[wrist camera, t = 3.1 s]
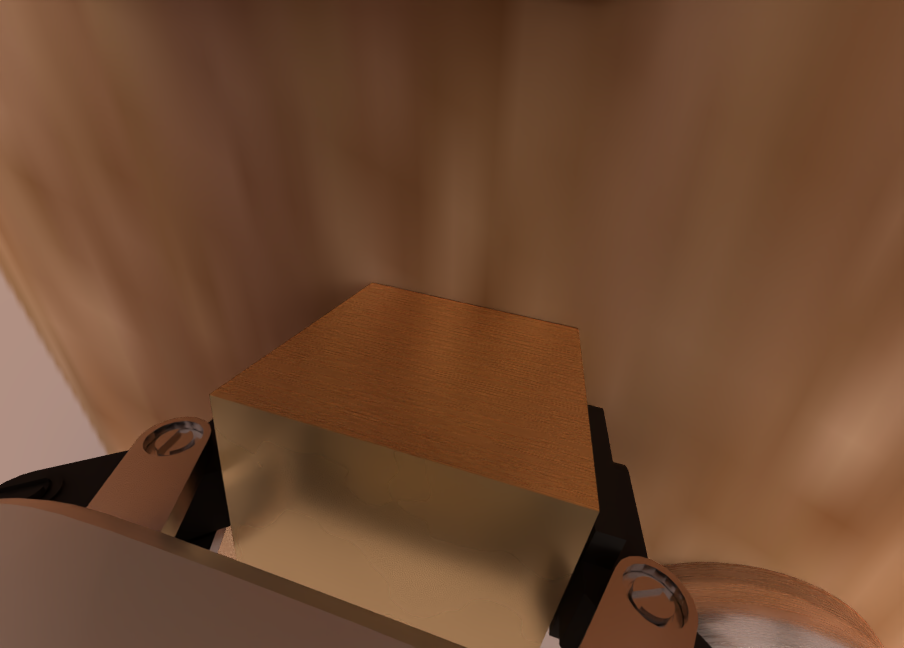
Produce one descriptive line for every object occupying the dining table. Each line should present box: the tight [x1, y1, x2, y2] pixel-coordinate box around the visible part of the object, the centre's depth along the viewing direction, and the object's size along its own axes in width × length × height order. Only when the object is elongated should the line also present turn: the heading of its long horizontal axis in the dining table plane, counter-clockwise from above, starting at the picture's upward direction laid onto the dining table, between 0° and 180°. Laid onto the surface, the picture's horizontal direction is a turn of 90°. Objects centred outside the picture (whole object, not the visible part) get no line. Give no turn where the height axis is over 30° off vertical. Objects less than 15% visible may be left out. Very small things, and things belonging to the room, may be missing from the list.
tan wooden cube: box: [209, 283, 600, 648], centre depth 10 cm, size 6×6×6 cm
